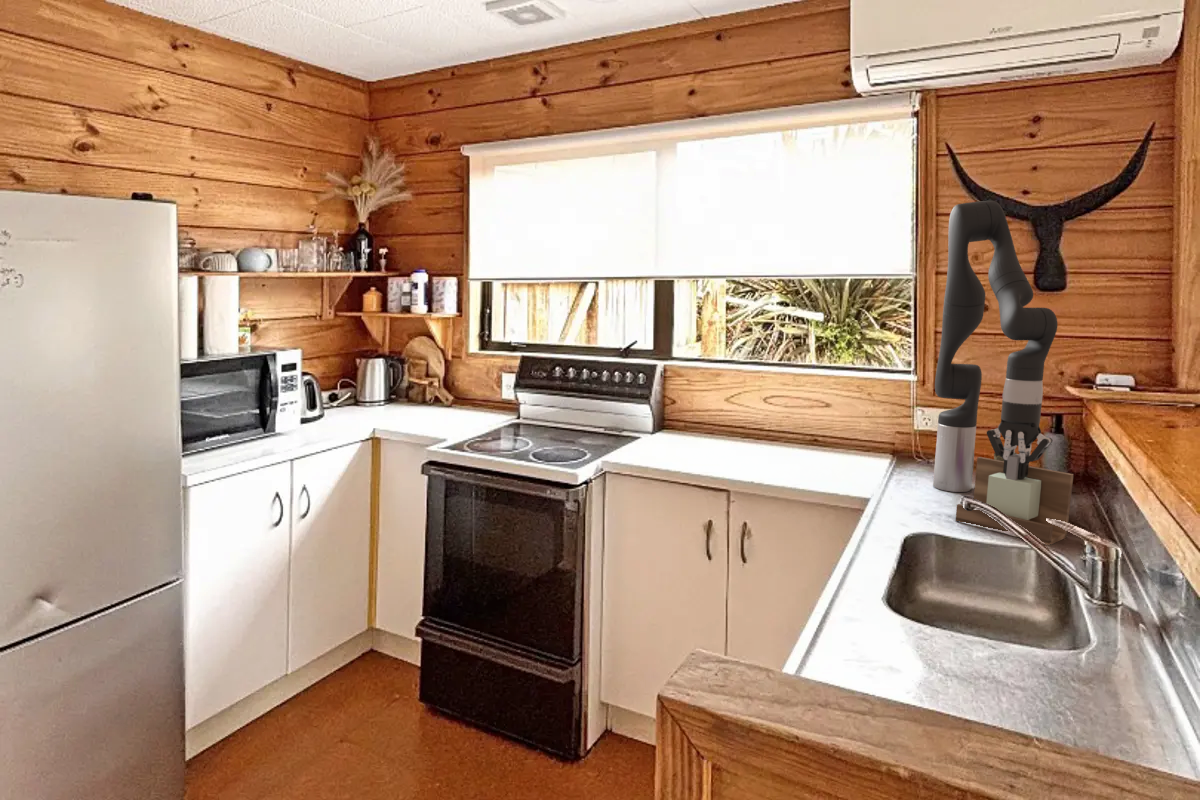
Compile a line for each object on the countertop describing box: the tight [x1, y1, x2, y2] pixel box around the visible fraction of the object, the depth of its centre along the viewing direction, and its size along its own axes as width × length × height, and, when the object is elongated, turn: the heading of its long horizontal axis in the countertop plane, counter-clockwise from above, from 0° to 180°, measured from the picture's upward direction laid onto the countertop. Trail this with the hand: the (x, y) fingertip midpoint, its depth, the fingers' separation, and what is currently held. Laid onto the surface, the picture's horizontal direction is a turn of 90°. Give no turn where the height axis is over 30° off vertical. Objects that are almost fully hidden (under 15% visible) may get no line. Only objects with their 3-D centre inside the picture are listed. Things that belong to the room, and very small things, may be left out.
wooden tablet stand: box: [955, 456, 1074, 546], centre depth 169 cm, size 9×20×14 cm, turn 37°
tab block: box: [986, 453, 1041, 520], centre depth 169 cm, size 5×9×13 cm, turn 37°
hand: (1014, 477), depth 169 cm, fingers closed on tab block
